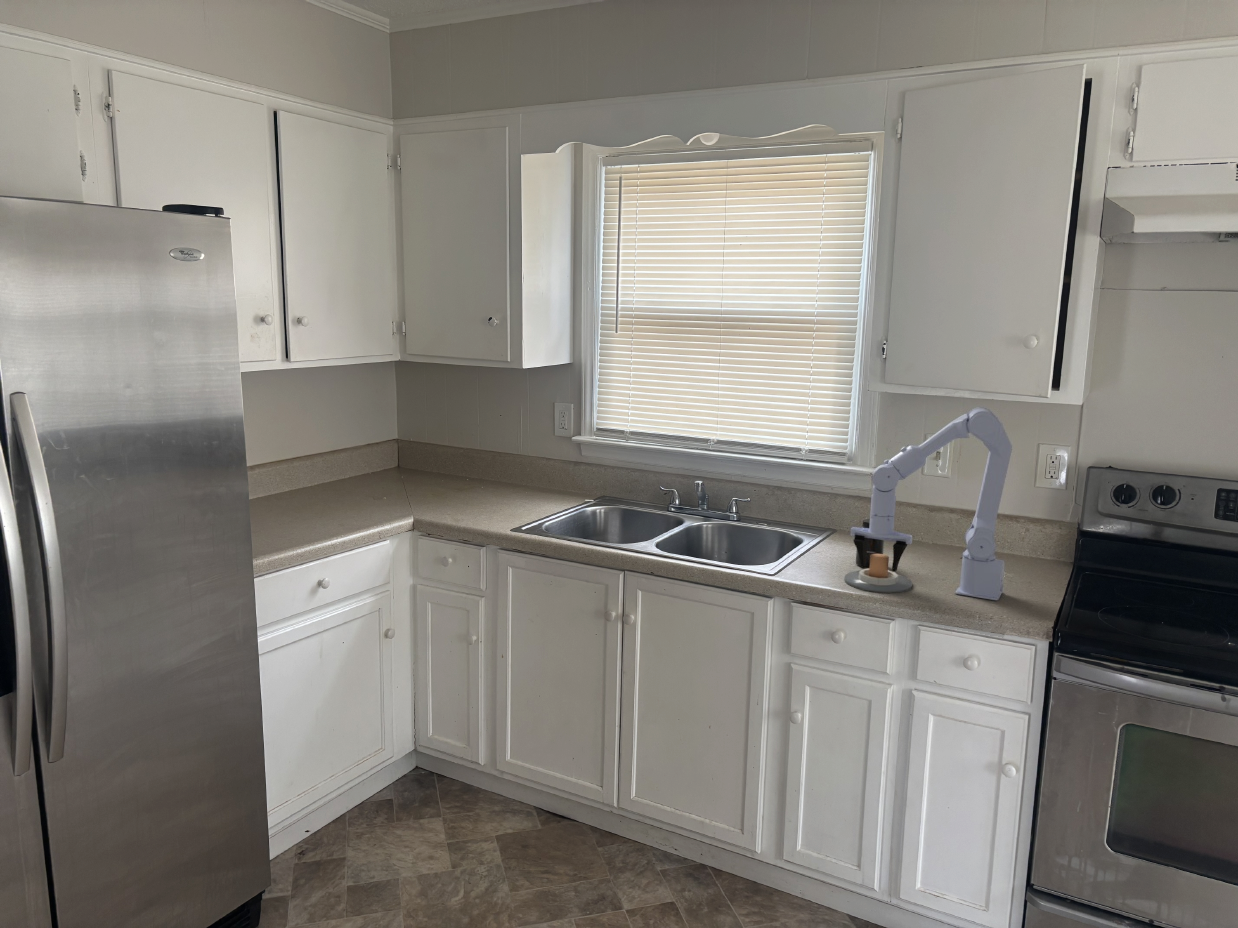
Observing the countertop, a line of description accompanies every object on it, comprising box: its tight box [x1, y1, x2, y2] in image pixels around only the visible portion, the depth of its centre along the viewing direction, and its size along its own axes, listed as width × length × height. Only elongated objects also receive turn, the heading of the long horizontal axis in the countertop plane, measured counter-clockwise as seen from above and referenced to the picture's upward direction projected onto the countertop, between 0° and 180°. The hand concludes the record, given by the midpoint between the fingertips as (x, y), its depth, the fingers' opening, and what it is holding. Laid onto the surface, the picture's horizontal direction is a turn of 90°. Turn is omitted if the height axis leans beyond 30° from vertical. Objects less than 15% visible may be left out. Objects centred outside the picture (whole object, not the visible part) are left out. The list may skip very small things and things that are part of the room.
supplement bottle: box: [855, 518, 885, 569], centre depth 236 cm, size 7×7×12 cm
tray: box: [843, 568, 913, 594], centre depth 222 cm, size 16×16×2 cm
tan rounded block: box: [869, 553, 890, 578], centre depth 221 cm, size 4×4×6 cm
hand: (878, 568), depth 222 cm, fingers open, 7 cm apart
